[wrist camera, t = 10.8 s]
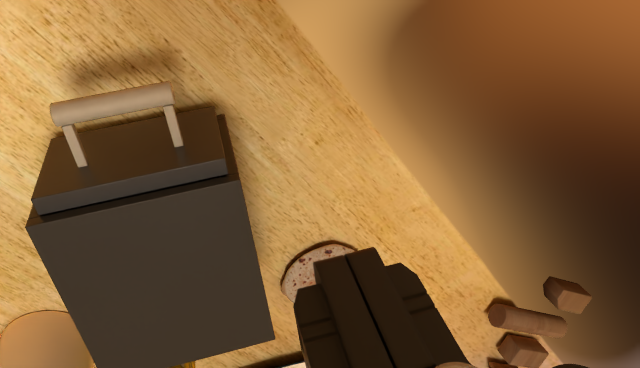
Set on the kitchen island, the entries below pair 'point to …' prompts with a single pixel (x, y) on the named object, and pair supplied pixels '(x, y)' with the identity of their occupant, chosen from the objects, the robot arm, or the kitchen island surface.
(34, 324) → the pill bottle
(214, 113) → the drawer
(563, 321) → the wood blocks
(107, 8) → the kitchen island surface
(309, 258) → the flatbread
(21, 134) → the kitchen island surface
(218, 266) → the cabinet
